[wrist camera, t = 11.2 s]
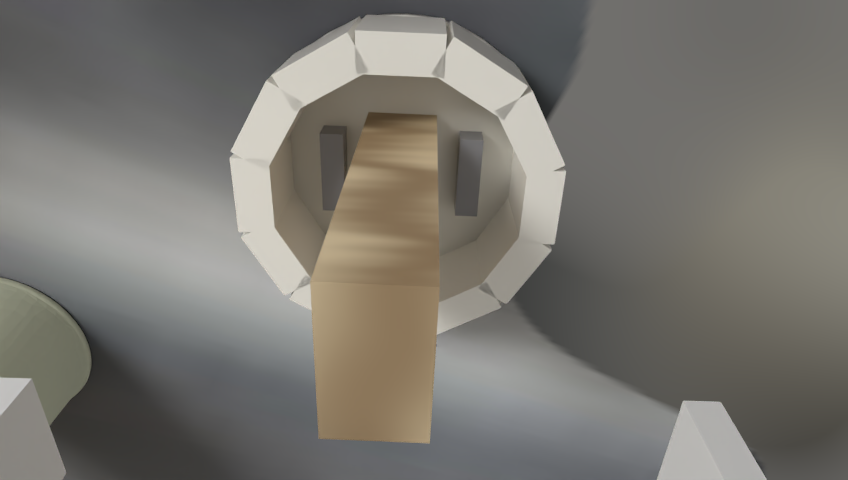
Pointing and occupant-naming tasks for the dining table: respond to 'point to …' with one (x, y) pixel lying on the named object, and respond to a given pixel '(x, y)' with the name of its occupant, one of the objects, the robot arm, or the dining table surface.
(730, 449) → the robot arm
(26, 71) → the dining table surface
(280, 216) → the white thick ring
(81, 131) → the dining table surface
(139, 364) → the dining table surface
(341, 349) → the wooden block
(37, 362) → the can
